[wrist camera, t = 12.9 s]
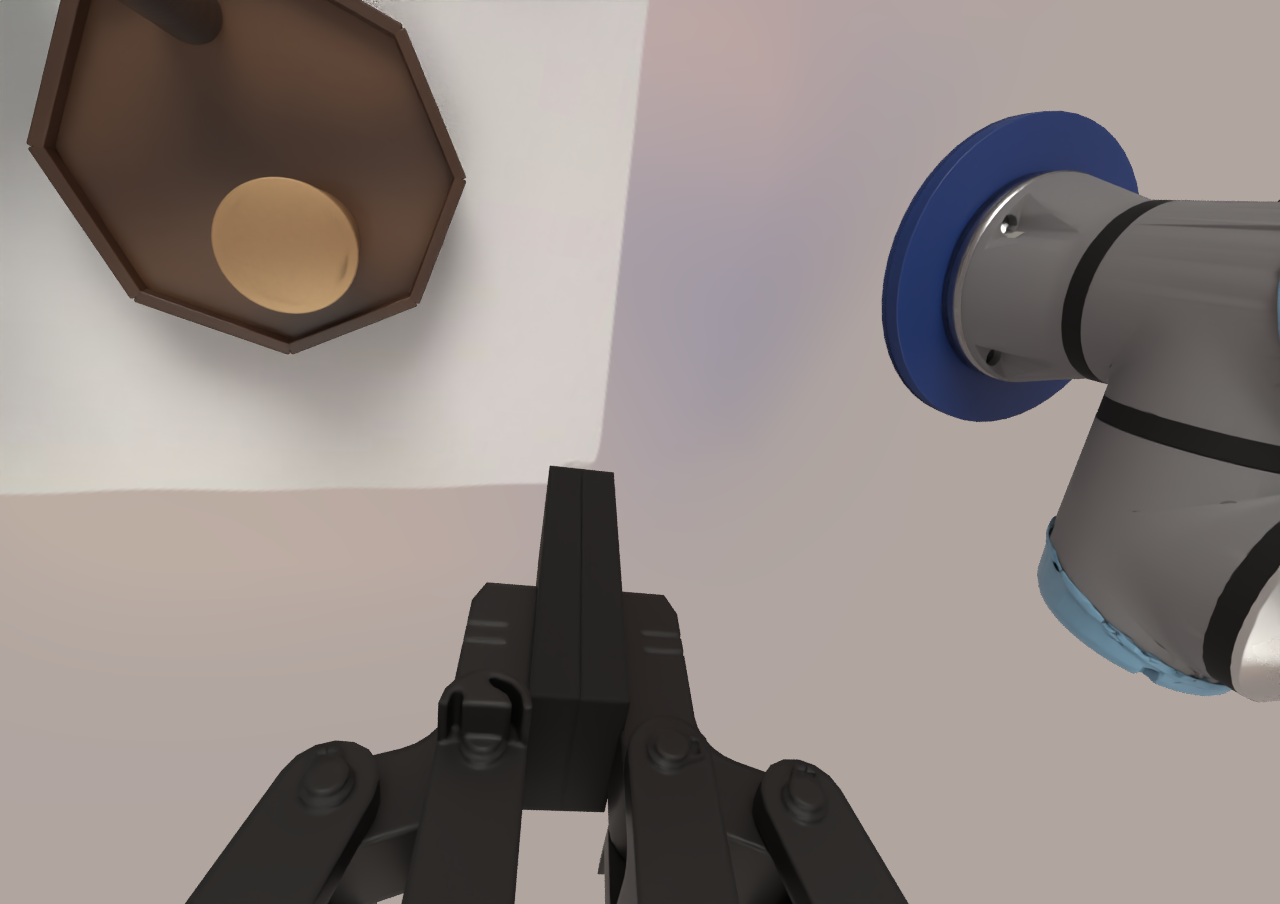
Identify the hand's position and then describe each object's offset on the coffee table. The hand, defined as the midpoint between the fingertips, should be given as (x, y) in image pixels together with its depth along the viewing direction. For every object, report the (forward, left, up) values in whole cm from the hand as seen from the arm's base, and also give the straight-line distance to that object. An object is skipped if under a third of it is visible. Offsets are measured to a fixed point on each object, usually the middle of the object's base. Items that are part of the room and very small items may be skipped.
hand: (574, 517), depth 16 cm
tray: (+8, -9, -25) cm, 28 cm away
